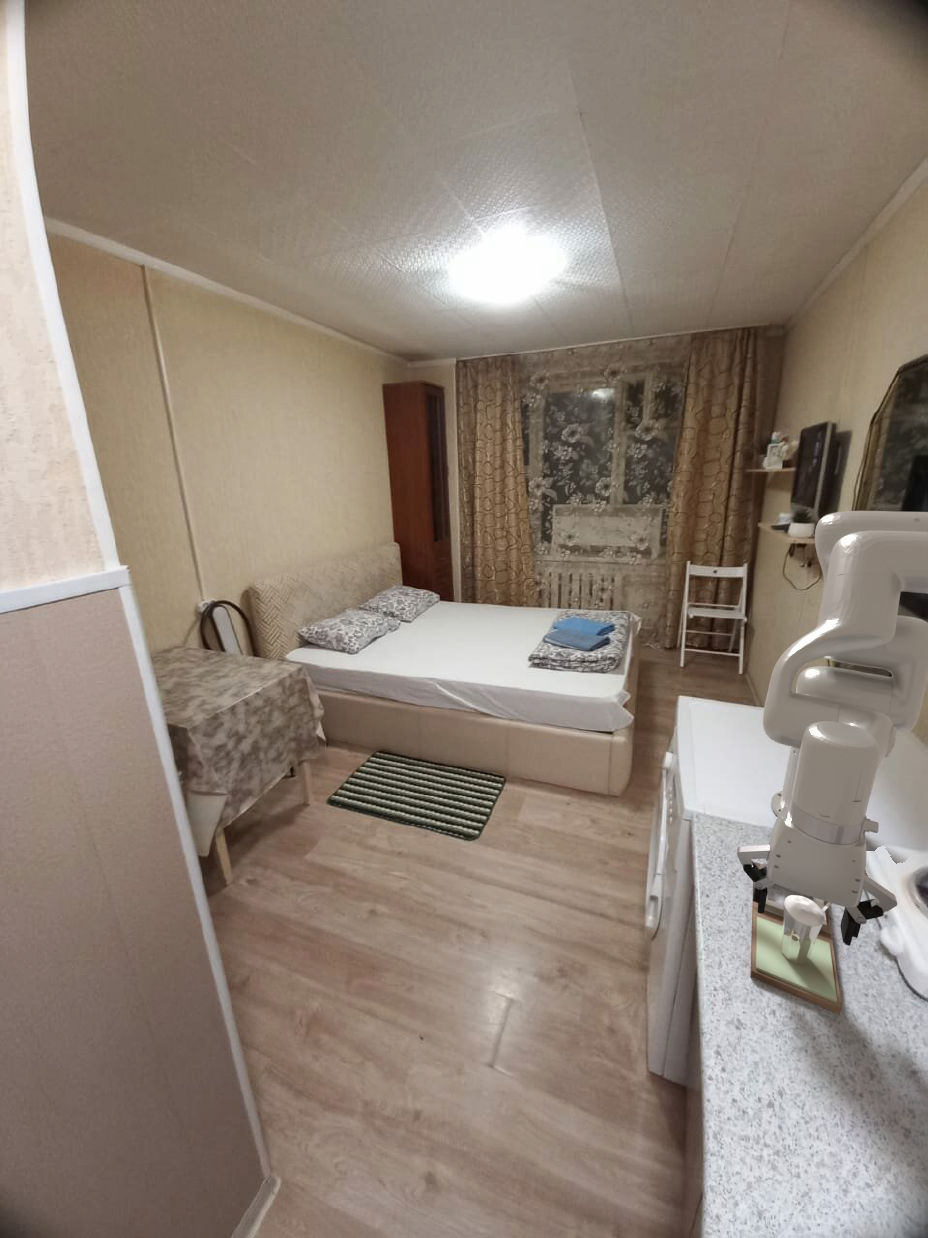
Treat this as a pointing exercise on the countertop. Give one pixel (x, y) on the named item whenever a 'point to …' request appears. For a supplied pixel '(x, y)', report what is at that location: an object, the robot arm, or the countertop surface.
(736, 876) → the countertop surface
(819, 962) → the board
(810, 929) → the milkshake
